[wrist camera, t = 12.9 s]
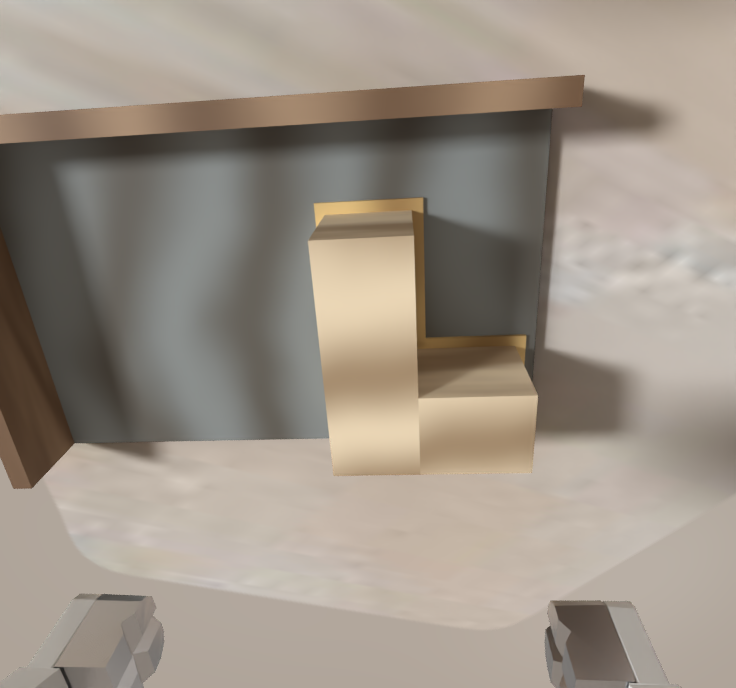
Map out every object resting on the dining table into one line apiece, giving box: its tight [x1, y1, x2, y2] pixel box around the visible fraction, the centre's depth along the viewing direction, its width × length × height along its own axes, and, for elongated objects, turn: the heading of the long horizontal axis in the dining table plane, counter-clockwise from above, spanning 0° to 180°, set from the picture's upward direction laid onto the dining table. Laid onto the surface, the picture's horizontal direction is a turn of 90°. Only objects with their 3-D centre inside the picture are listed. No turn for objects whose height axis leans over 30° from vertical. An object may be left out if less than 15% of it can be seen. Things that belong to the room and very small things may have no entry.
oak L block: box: [308, 210, 538, 476], centre depth 24 cm, size 11×9×5 cm
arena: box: [0, 75, 585, 489], centre depth 25 cm, size 27×18×5 cm, turn 93°
